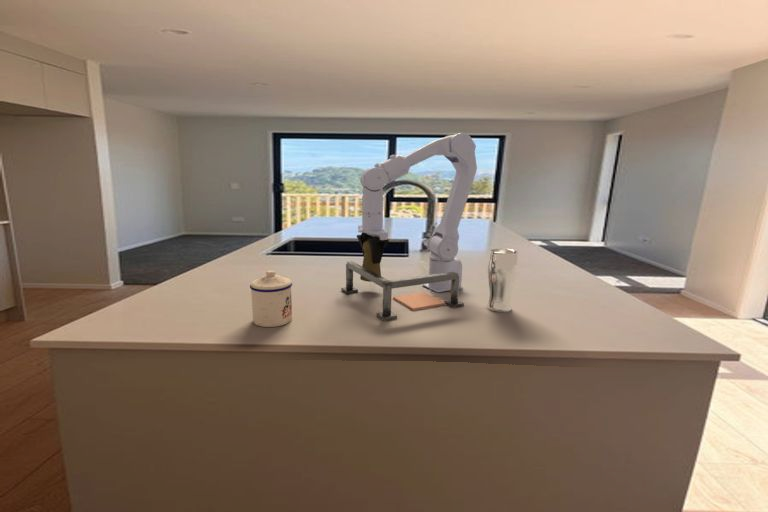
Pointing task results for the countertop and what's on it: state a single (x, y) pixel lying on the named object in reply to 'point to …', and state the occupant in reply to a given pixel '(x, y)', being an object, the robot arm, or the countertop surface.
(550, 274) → the countertop surface
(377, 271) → the cork
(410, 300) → the mat
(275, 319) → the teacup with lid
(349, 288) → the bent rail
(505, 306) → the beer glass
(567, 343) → the countertop surface
